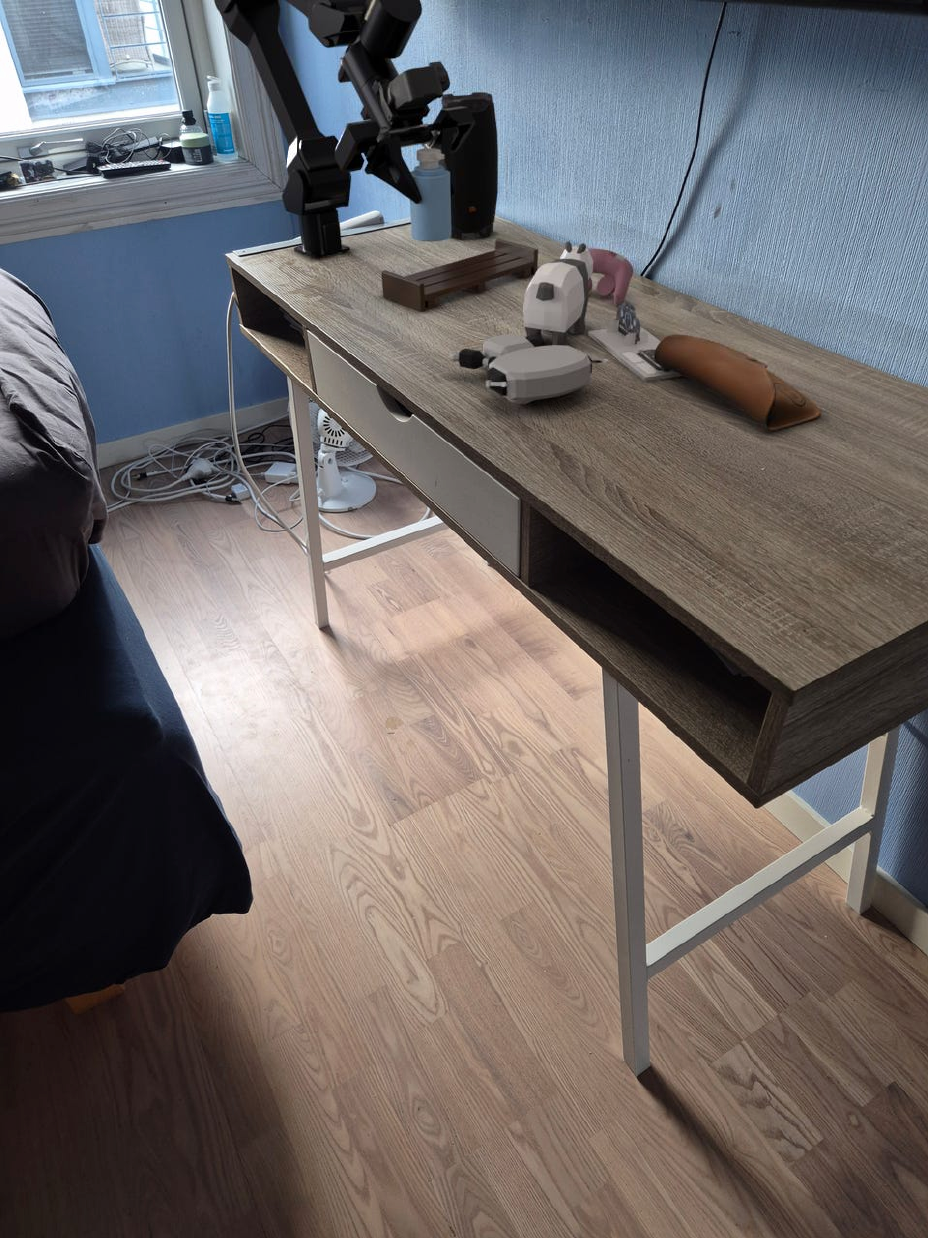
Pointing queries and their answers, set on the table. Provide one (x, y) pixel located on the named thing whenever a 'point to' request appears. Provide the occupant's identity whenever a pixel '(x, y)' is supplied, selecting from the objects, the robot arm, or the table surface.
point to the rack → (460, 275)
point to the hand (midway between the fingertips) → (436, 198)
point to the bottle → (431, 198)
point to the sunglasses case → (737, 380)
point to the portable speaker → (475, 168)
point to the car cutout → (632, 345)
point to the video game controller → (611, 274)
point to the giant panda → (559, 295)
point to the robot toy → (528, 367)
